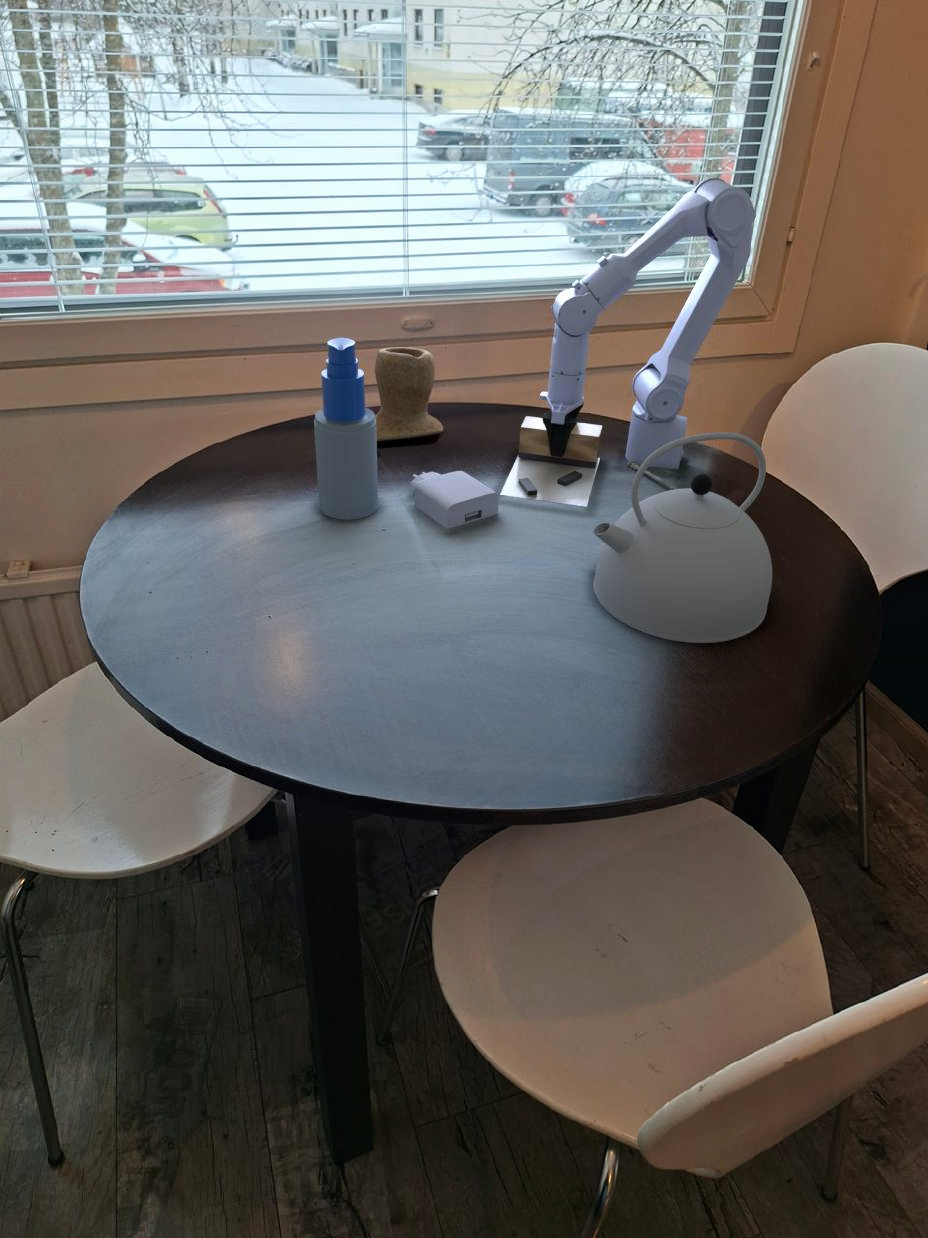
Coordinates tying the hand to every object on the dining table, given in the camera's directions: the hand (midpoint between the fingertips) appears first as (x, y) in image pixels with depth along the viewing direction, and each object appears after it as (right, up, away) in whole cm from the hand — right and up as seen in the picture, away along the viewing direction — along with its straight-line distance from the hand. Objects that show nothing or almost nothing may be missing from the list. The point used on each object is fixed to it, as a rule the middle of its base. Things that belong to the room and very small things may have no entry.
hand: (559, 448), depth 147 cm
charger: (-19, -12, -13) cm, 26 cm away
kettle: (+11, -25, -31) cm, 42 cm away
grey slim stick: (+17, -9, -7) cm, 21 cm away
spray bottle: (-34, -11, -14) cm, 38 cm away
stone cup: (-28, +5, +10) cm, 30 cm away
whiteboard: (-2, -6, -4) cm, 8 cm away
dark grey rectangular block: (-6, -8, -9) cm, 14 cm away
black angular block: (+1, -6, -6) cm, 9 cm away
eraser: (0, -1, +1) cm, 1 cm away
